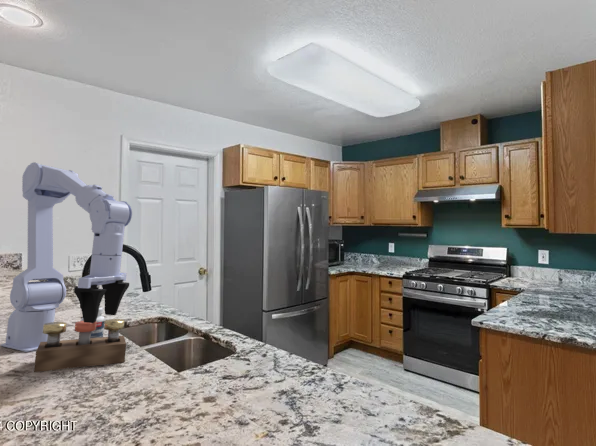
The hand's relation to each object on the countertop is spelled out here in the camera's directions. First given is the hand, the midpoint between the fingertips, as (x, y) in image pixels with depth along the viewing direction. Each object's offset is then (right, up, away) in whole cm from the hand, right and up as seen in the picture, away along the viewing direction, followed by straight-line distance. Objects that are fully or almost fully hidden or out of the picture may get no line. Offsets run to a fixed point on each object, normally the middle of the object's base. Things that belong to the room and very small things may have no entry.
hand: (100, 318), depth 73 cm
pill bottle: (-11, -11, +14) cm, 20 cm away
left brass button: (-9, -6, -2) cm, 11 cm away
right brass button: (0, -7, +4) cm, 8 cm away
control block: (-5, -10, +1) cm, 11 cm away
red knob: (-4, -7, +1) cm, 8 cm away
